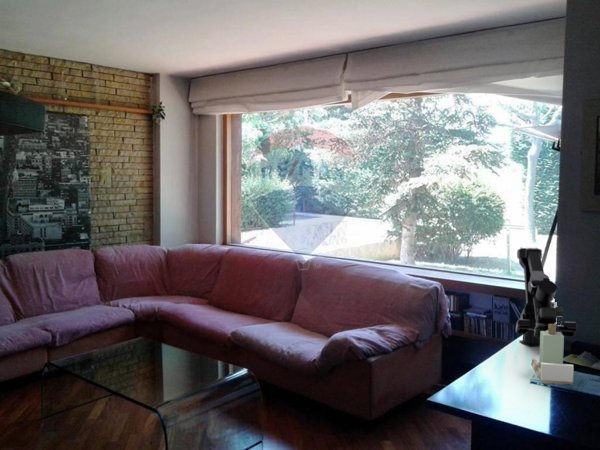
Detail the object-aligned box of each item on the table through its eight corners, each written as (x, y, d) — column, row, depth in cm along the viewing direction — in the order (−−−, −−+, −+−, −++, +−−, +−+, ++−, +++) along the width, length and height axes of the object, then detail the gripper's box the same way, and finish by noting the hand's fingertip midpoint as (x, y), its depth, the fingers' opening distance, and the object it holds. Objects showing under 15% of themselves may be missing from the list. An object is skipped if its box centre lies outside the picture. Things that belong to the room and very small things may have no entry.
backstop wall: (540, 378, 168) (541, 362, 168) (571, 380, 166) (572, 364, 166) (541, 379, 167) (542, 364, 167) (573, 382, 165) (573, 366, 165)
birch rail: (531, 364, 184) (531, 357, 183) (559, 366, 182) (559, 359, 181) (541, 382, 167) (541, 375, 167) (572, 385, 165) (573, 377, 165)
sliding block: (539, 366, 178) (540, 322, 177) (558, 367, 177) (560, 323, 175) (542, 371, 173) (543, 326, 172) (562, 373, 172) (564, 327, 171)
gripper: (518, 295, 183) (522, 336, 173) (577, 298, 179) (586, 340, 169) (513, 313, 191) (517, 353, 182) (570, 316, 187) (578, 357, 177)
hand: (549, 350), depth 177 cm, fingers closed, pressing on sliding block
